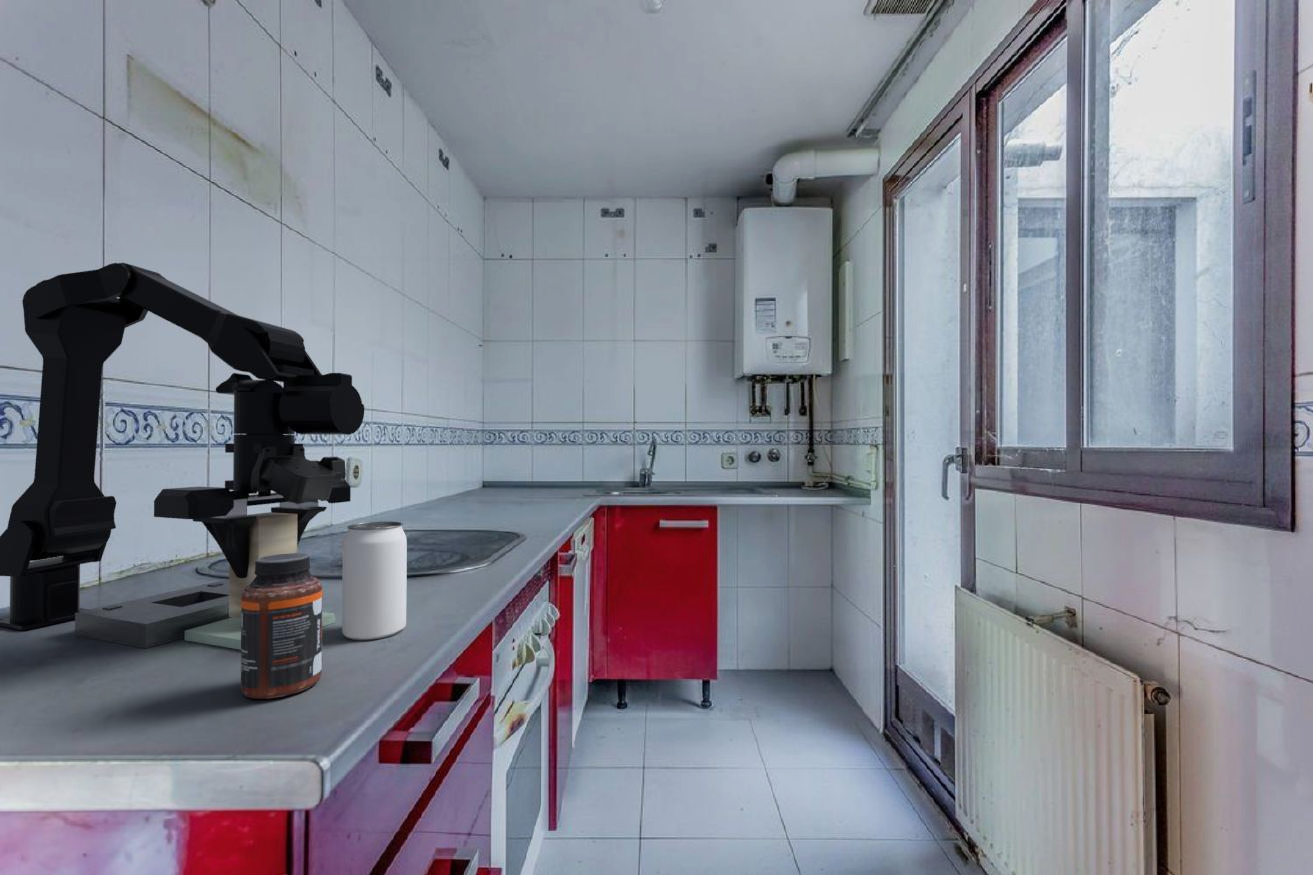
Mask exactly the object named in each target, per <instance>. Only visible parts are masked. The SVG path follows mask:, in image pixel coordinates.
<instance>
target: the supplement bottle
mask: <svg viewBox="0 0 1313 875" xmlns="http://www.w3.org/2000/svg"><path fill="white" fill-rule="evenodd" d="M310 569H311V561H310V554H308V553H305V552H304V553H303V552H299V553H298V552H297V553H288V554H278V555H271V556H266V557H262V558H259V559H257V560H256V561H255V572H254V574H256V575H257V576H256V578H255V579H254V580H253V581H252V583H251V584H250V585H248V586H247V587H246V588H245V589H244V591H243V592H242V598H241V650H240V687H241V693H242V694H243V695H244V696H245V697H247V698H251V699H256V700H261V699H262V700H268V699H271V700H272V699H279V698H284V697H287V696H291V695H294V694H297V693H300V692H304V691H306V690H308V689H309V688H311V687H313V686H314V685H316V684H317V683H318V682H319V681H320V679H321V678H322V676H323V674H322V673H323V627H322V612H323V586H322V583H321V580H320V579H318V577H315V576H312V573H311V572H310Z"/></svg>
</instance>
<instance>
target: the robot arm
mask: <svg viewBox="0 0 1313 875" xmlns="http://www.w3.org/2000/svg"><path fill="white" fill-rule="evenodd" d="M21 303H22V308H23V320H24V321H23V322H24V323H23V324H24V332H25V333H26V335H27V337H28V338H29V339H30V341H31V342H32V344H33V345H34V347H35V348H36V350H37V351H38V352H39V353H40V354H39V355H41V357H42V372H41V382H40V383H41V385H40V397H39V398H40V399H39V410H38V424H37V437H36V438H37V439H36V449H35V450H36V452H35V463H34V464H35V465H34V478H33V482H32V483H31V484H30V485H29V486H28V488H26V489H25V491H24V492H23V493H22V494H21V495H20V496H19V498H17V499H16V501H15V502H14V503H13V504H12V505H11V509H10V514H9V519H8V522H7V528H6V529H5V530H4V531H3V532H2V533H1V535H0V577H9V616H7V617H2V618H0V627H5V628H10V629H15V630H22V631H24V630H25V631H26V630H31V629H32V630H33V629H35V628H39V627H43V626H45V627H46V626H49V625H53V624H58V623H62V622H67V621H70V620H75V612H80V611H84V610H89V609H88V608H82V607H80V606H81V604H80V601H81V600H80V596H81V594H80V592H81V565H85V564H88V563H89V564H90V563H98V562H101V561H102V559H103V555H104V552H105V550H106V547H107V544H108V543H107V542H109V539H110V537H111V534H112V530H114V529H117V528H116V527H117V526H116V522H115V510H116V507H117V506H116V505H117V500H116V498H115V496H113V495H105V494H104V493H103V492H102V490H101V489H100V487H99V485H97V483H96V481H95V476H96V459H97V445H98V434H99V433H98V432H99V418H100V406H101V405H100V404H101V394H102V393H101V392H102V381H103V379H102V378H103V367H104V363H105V362H106V361H107V360H108V359H109V358H110V357H111V356H112V355H113V354H114V352H116V350H117V349H118V348H120V347H121V345H122V342H123V338H124V334H125V332H126V331H125V329H126V328H128V327H131V326H132V325H135V324H137V323H140V322H141V321H144V320H145V318H146V316H147V314H148V312H149V313H151V314H153V315H155V316H157V317H159V318H162V319H164V320H166V321H167V322H169V323H171V324H173V325H176V326H177V327H179V328H181V329H183V330H184V331H186V332H189V333H191V334H193V335H194V336H196V337H198V338H200V339H201V340H203V341H204V342H205V343H206V344H207V346H208V348H209V350H210V352H211V353H212V354H214V355H215V356H216V357H217V358H218V359H220V360H221V361H222V362H223V363H225V364H226V365H227V366H229V367H230V368H231V369H234V370H235V371H240V372H242V373H237V372H233V373H232V374H231V375H230V376H229V377H228V378H227V379H226V380H225V381H222V382H220V384H219V385H217V386H216V387H215V392H216V393H218V394H221V395H222V394H223V395H224V394H225V395H233V443H225V444H224V452H225V453H226V454H227V453H228V454H229V453H231V454H232V453H233V455H232V456H233V458H232V459H233V461H232V462H233V463H232V464H233V469H232V470H233V474H232V477H233V479H231V480H227V479H226V480H224V487H219V486H218V487H217V486H215V487H214V486H213V487H212V486H189V487H187V486H186V487H174V488H171V487H170V488H163V489H161V490H160V492H159V493H158V494H157V496H156V497H155V499H154V500H153V518H165V519H178V520H192V522H198V523H202V524H203V526H204V527H205V528H206V530H207V531H208V532H209V534H210V535H211V536H212V538H213V539H214V540H215V542H216V543H217V545H218V546H219V549H220V550H221V552H222V554H223V555H224V557H225V558H226V559H225V560H227V562H228V564H230V566H231V568H232V569H233V571H234V573H235V575H236V576H237V577H238V578H246V577H247V574H248V567H249V529H250V527H251V526H252V524H253V523H254V521H255V519H256V518H257V516H253V515H251V514H248V507H251V506H252V507H253V506H261V505H270V504H271V505H272V504H279V506H274V507H273V506H272V507H270V512H272V513H289V514H297V547H299V544H300V540H301V538H302V537H303V534H304V532H305V530H306V528H307V527H308V524H309V523H310V521H311V520H313V519H314V518H315V517H316V516H317V515H318V514H320V513H321V512H325V511H326V510H327V508H328V507H327V506H319V501H321V502H324V501H325V502H327V503H328V504H338V503H340V504H341V503H348V502H351V496H352V495H351V490H352V489H351V485H349V483H348V482H347V480H346V476H347V472H346V471H347V470H346V460H345V459H343V458H341V457H339V456H324V457H322V458H321V459H320V460H311V459H310V460H309V459H308V458H306V456H305V452H306V451H305V447H304V444H303V443H296V442H295V441H296V435H295V433H296V434H299V435H325V436H326V435H332V436H333V435H339V436H340V435H344V436H345V435H353V434H355V433H356V432H358V430H359V429H360V427H361V425H362V424H363V421H364V418H365V405H364V403H363V401H362V400H363V399H362V397H361V395H360V393H359V391H358V390H357V389H356V387H355V386H353V376H352V375H351V374H347V373H342V372H329V373H325V374H322V373H321V371H320V370H319V368H318V367H317V365H316V364H315V363H314V360H312V358H311V356H310V355H309V353H308V352H307V351H306V347H305V343H304V342H305V339H304V337H302V335H300V333H298V332H297V331H295V330H292V329H290V328H287V327H282V326H279V325H275V324H271V323H268V322H264V321H260V320H256V319H252V318H249V317H246V316H242V315H240V314H236V313H235V312H233V311H231V310H228V309H226V308H225V307H222V306H220V305H219V304H217V303H215V302H213V301H210V300H209V299H206V298H205V297H203V296H201V295H199V294H196V293H194V292H192V291H191V290H189V289H186V287H185V288H184V287H183V286H180V285H178V284H177V283H174V281H170V280H169V279H167V278H166V277H164V276H163V275H162V274H161V273H159V272H156V271H153V270H150V269H146V268H143V267H139V266H137V265H133V264H130V263H127V262H114V263H110V264H107V265H105V266H102V267H100V268H98V269H92V270H83V271H76V272H70V273H62V274H58V275H55V276H54V277H51V278H49V279H43V280H42V281H40V282H37V283H36V284H35V285H33V286H31V287H30V288H28V289H27V290H26V291H25V293H24V295H23V297H22V302H21ZM243 372H244V373H250V374H251V375H253V376H254V377H255V378H257V379H253V377H251V375H249V374H243ZM280 383H282V384H283V386H282V385H281V384H280Z"/></svg>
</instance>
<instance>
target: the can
mask: <svg viewBox="0 0 1313 875" xmlns="http://www.w3.org/2000/svg"><path fill="white" fill-rule="evenodd" d="M403 524H404V523H403V522H400V521H384V520H383V521H368V522H359V523H353V524H349V525H347V528H346V529H347V532H346V533H345V535H344V537H343V540H342V563H341V564H342V565H341V566H342V567H341V568H342V575H341V576H342V581H341V583H342V584H341V586H342V587H341V589H342V590H341V596H342V597H341V598H342V599H341V609H342V610H341V613H342V616H341V627H342V629H341V630H342V631H341V632H342V635H343V636H345V638H346V639H348V640H350V641H351V640H352V641H358V642H359V641H375V640H376V641H377V640H381V639H386V638H390V637H394V636H395V635H397V634H399V633H401V632H402V631H403V630H404V628H405V627H406V626H407V591H408V590H407V584H408V583H407V579H408V578H407V572H408V570H407V568H408V566H407V564H408V563H407V562H408V561H407V560H408V559H407V558H408V557H407V551H408V550H407V548H408V547H407V545H408V544H407V535H406V533H405V531H404V529H403Z"/></svg>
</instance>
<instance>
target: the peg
mask: <svg viewBox="0 0 1313 875" xmlns="http://www.w3.org/2000/svg"><path fill="white" fill-rule="evenodd" d="M250 515H253V516H257V518H256V519H255V521H254V523H253V524H252V526H251V527H250V529H249V567H248V574H247V577H246V578H238V577H237V576H236V575H235V573H234V571H233V569H232V568H231V566H230V564H229V563H228V564H229V567H228V568H229V570H228V572H229V578H228V580H229V617H234V618H240V619H241V598H242V592H243V591H244V589H245V588H246V587H247V586H248V585H250V584H251V583H252V581H253V580H254V579H255V578H256V576H257V575H256V574H254V572H255V561H256V560H257V559H259V558H262V557H266V556H271V555H278V554H288V553H298V546H297V514H289V513H272V512H271V511H270V512H262V513H261V512H260V513H253V514H250Z"/></svg>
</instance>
